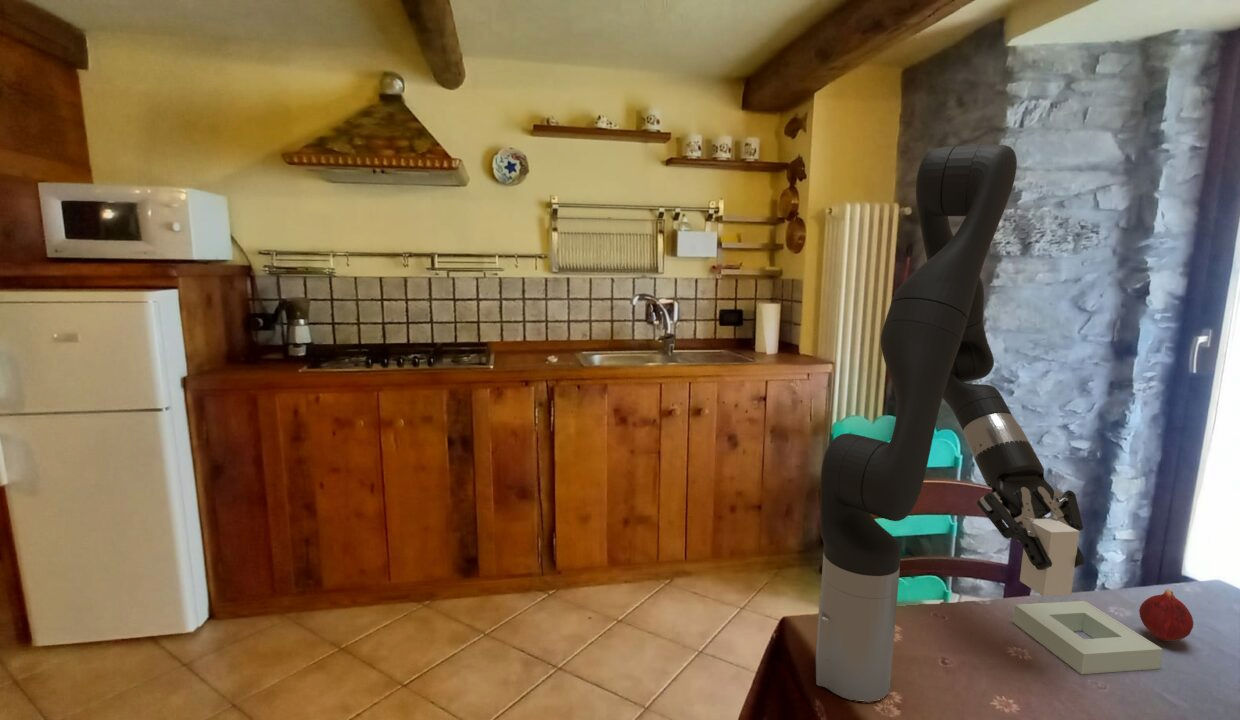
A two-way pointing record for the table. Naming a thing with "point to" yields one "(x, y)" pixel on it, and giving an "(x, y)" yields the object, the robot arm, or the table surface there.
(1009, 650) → the table surface
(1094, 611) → the socket
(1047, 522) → the plug
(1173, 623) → the onion
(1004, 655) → the table surface
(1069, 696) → the table surface
